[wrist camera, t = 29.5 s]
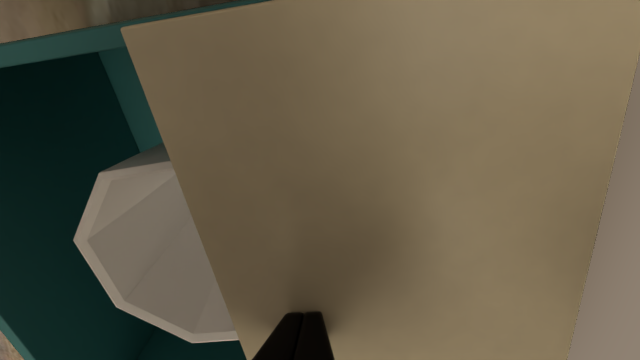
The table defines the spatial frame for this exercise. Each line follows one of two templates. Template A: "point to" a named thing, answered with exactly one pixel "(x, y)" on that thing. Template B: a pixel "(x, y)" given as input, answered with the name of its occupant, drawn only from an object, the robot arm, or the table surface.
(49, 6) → the table surface
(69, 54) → the open box
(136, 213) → the cup
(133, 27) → the flap
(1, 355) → the table surface
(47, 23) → the table surface
